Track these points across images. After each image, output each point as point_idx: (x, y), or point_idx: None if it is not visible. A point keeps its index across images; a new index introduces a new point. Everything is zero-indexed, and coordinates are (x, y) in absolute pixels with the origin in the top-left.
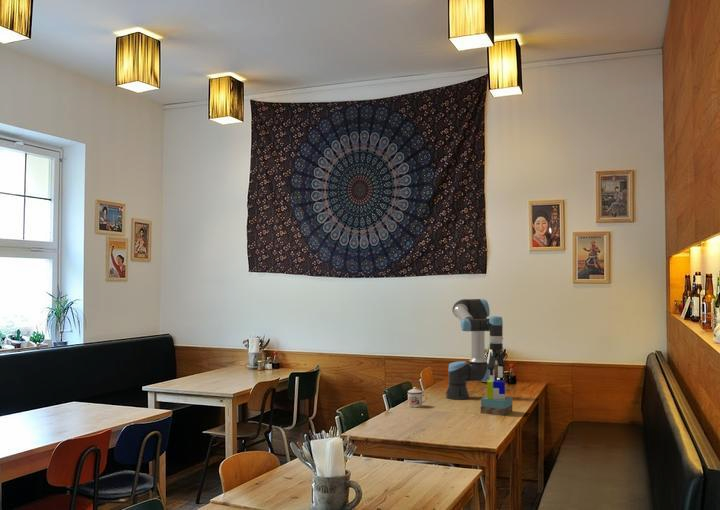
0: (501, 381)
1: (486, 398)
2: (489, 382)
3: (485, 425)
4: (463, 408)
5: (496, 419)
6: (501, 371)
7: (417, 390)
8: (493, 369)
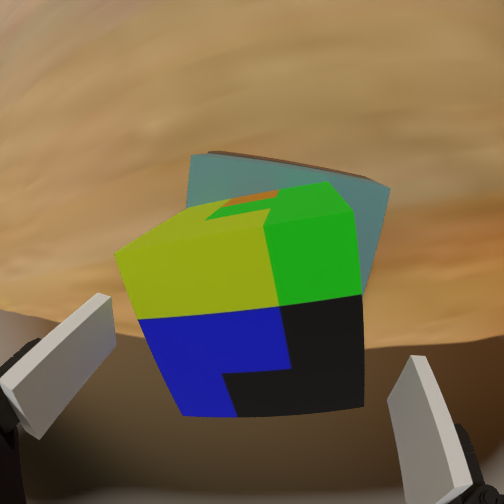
0: (232, 393)
1: (217, 193)
2: (125, 278)
3: (27, 241)
4: (319, 26)
5: None
6: (404, 456)
7: None
8: (15, 427)
